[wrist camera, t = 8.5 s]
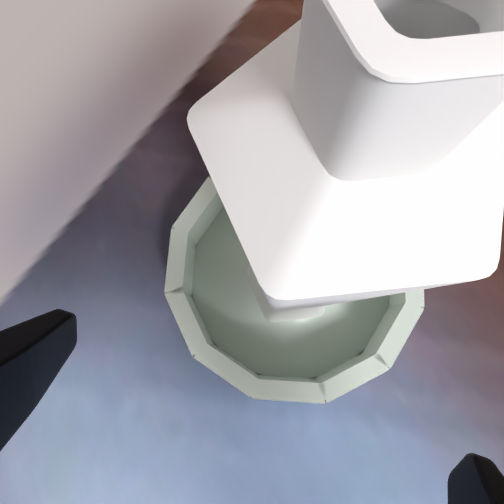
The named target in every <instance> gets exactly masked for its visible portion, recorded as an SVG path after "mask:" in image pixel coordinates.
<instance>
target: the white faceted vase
mask: <svg viewBox="0 0 504 504" xmlns="http://www.w3.org/2000/svg"><path fill="white" fill-rule="evenodd" d="M187 122H188V127H189V130H190V132H191V134H192V136H193V139H194V141H195V143H196V145H197V147H198V150H199V152H200V154H201V156H202V159H203V161H204V163H205V165H206V167H207V170H208V172H209V174H210V176H211V178H212V181H213V183H214V185H215V187H216V189H217V192H218V194H219V196H220V198H221V201H222V203H223V205H224V207H225V209H226V212H227V214H228V216H229V218H230V220H231V223H232V225H233V227H234V229H235V231H236V234H237V236H238V238H239V240H240V243H241V245H242V247H243V249H244V251H245V254H246V256H247V258H248V260H249V262H250V266H249V267H248V268H247V269H246V272H245V274H246V277H247V280H248V282H249V284H250V286H251V289H252V291H253V293H254V295H255V297H256V300H257V302H258V304H259V306H260V309H261V311H262V313H263V315H264V317H265V319H266V320H267V321H269V322H279V321H288V320H297V319H307V318H316V317H321V316H322V315H323V314H324V312H325V308H326V306H327V305H333V304H339V303H345V302H351V301H357V300H362V299H368V298H374V297H380V296H386V295H392V294H398V293H404V292H410V291H416V290H422V289H427V288H433V287H439V286H445V285H451V284H457V283H463V282H469V281H475V280H479V279H483V278H486V277H489V276H490V275H491V274H492V273H493V272H494V271H495V270H496V269H497V266H498V262H499V258H500V247H501V234H502V221H503V208H504V0H304V4H303V12H302V19H300V20H299V21H298V22H297V23H295V24H294V25H293V26H292V27H290V28H289V29H288V30H287V31H285V32H284V33H283V34H282V35H280V36H279V37H278V38H276V39H275V40H274V41H273V42H271V43H270V44H269V45H268V46H266V47H265V48H264V49H263V50H261V51H260V52H259V53H258V54H256V55H255V56H254V57H253V58H251V59H250V60H249V61H247V62H246V63H245V64H244V65H242V66H241V67H240V68H239V69H237V70H236V71H235V72H234V73H232V74H231V75H230V76H229V77H227V78H226V79H225V80H223V81H222V82H221V83H220V84H218V85H217V86H216V87H215V88H213V89H212V90H211V91H210V92H208V93H207V94H206V95H205V96H203V97H202V98H201V99H200V100H198V101H197V102H196V103H195V104H194V105H193V106H192V107H191V108H190V110H189V112H188V116H187Z"/></svg>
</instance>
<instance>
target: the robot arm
mask: <svg viewBox="0 0 504 504" xmlns="http://www.w3.org/2000/svg"><path fill="white" fill-rule="evenodd" d="M76 342H77V322H76V316H75V315H74V314H73V313H70V312H67V311H64V310H61V309H56V310H53V311H50V312H48V313H45V314H43V315H40V316H38V317H35V318H33V319H30V320H27V321H25V322H22V323H20V324H17V325H15V326H12V327H10V328H7V329H4V330H2V331H0V451H1V450H2V448H3V447H4V446H5V445H6V444H7V442H8V441H9V440H10V439H11V437H12V436H13V435H14V434H15V432H16V431H17V430H18V429H19V427H20V426H21V425H22V424H23V422H24V421H25V420H26V419H27V417H28V416H29V415H30V414H31V412H32V411H33V410H34V408H35V407H36V406H37V404H38V403H39V401H40V400H41V398H42V397H43V395H44V394H45V392H46V391H47V389H48V388H49V386H50V385H51V383H52V382H53V380H54V379H55V377H56V376H57V374H58V372H59V371H60V369H61V368H62V366H63V365H64V363H65V362H66V360H67V359H68V357H69V356H70V354H71V353H72V351H73V349H74V347H75V345H76ZM448 504H504V476H503V475H502V473H501V472H500V471H499V469H498V468H497V467H496V465H495V464H494V463H493V462H492V461H491V460H490V459H488V458H485V457H482V456H480V455H477V454H474V453H469V454H467V455H466V456H465V457H464V458H463V459H462V460H461V461H460V462H459V464H458V465H457V466H456V467H455V468H454V469H453V470H452V472H451V473H450V475H449V478H448Z"/></svg>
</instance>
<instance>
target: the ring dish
mask: <svg viewBox="0 0 504 504" xmlns="http://www.w3.org/2000/svg"><path fill="white" fill-rule="evenodd" d="M210 177H211V176H210ZM210 177H208V178H207V179H206V181H205V182H204V183H203V185H202V186H201V187H200V189H199V190H198V192H197V193H196V194H195V196H194V197H193V198H192V200H191V201H190V202H189V204H188V205H187V207H186V208H185V209H184V211H183V212H182V213H181V215H180V216H179V218H178V219H177V220H176V222H175V223H174V224H173V226H172V227H173V228H171V235H170V244H169V253H168V262H167V271H166V280H165V289H164V293H166V294H165V297H166V299H167V301H168V303H169V306H170V308H171V310H172V312H173V315H174V317H175V319H176V321H177V323H178V326H179V328H180V330H181V332H182V335H183V337H184V339H185V341H186V344H187V346H188V348H189V350H190V352H191V355H192V356H194V357H193V358H195V359H196V360H198V361H199V362H200V363H202V364H203V365H205V366H206V367H208V368H209V369H210V370H212V371H213V372H215V373H216V374H217V375H219V376H220V377H222V378H223V379H225V380H226V381H227V382H229V383H230V384H232V385H233V386H235V387H236V388H237V389H239V390H240V391H242V392H243V393H245V394H246V395H247V396H249V397H250V398H252V396H253V399H262V400H277V401H292V402H307V403H322V404H325V402H326V403H328V402H330V401H332V400H334V399H336V398H338V397H340V396H341V395H343V394H345V393H347V392H349V391H351V390H353V389H354V388H356V387H358V386H360V385H362V384H364V383H366V382H367V381H369V380H371V379H373V378H375V377H377V376H379V375H381V374H382V373H384V372H386V371H388V370H389V369H388V368H391V367H392V365H393V363H394V361H395V360H396V358H397V356H398V354H399V353H400V351H401V349H402V347H403V345H404V344H405V342H406V340H407V338H408V337H409V335H410V333H411V331H412V329H413V328H414V326H415V324H416V322H417V321H418V319H419V317H420V315H421V313H422V312H423V310H424V309H423V308H422V307H424V289H422V290H416V291H410V292H404V293H398V294H392V295H386V296H380V297H374V298H368V299H362V300H357V301H351V302H345V303H339V304H333V305H327V306H326V308H325V312H324V314H323V315H322V316H321V317H316V318H307V319H297V320H288V321H279V322H269V321H267V320H266V319H265V317H264V315H263V313H262V311H261V309H260V306H259V304H258V302H257V300H256V297H255V295H254V293H253V291H252V289H251V286H250V284H249V282H248V280H247V277H246V274H245V272H246V269H247V268H248V267H249V266H250V262H249V260H248V258H247V256H246V254H245V251H244V249H243V247H242V245H241V243H240V240H239V238H238V236H237V234H236V231H235V229H234V227H233V225H232V223H231V220H230V218H229V216H228V214H227V212H226V209H225V207H224V205H223V203H222V201H221V198H220V196H219V194H218V192H217V189H216V187H215V185H214V183H213V181H212V178H210Z"/></svg>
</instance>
